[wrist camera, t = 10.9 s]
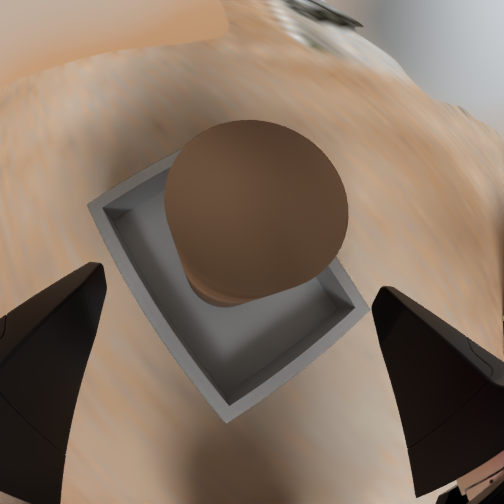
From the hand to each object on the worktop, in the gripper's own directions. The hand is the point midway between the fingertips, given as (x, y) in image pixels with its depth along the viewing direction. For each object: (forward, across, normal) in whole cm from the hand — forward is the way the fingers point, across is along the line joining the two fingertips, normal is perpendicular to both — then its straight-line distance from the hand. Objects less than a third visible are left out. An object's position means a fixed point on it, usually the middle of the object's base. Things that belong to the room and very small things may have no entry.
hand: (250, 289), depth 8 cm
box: (+9, 0, +6) cm, 11 cm away
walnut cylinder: (+8, 0, +5) cm, 10 cm away
